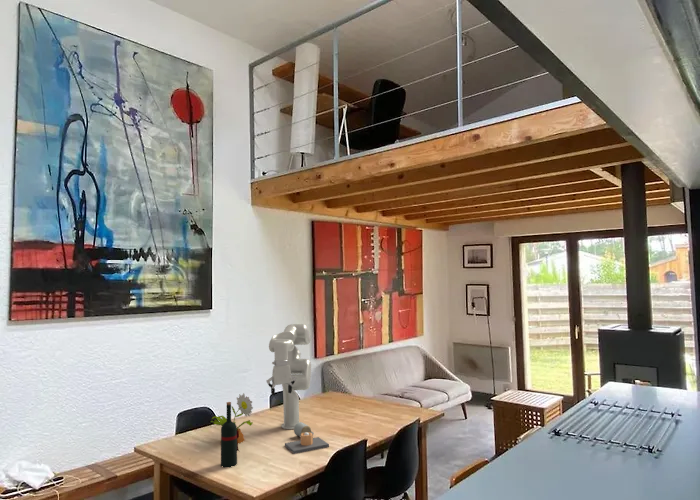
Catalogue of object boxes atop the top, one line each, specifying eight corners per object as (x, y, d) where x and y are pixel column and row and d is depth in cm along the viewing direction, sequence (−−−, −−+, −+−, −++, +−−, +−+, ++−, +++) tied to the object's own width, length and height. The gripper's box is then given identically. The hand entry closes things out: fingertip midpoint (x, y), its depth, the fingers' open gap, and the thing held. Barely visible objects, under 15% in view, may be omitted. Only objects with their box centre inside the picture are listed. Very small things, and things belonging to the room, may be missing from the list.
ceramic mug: (301, 440, 271) (301, 426, 271) (293, 436, 277) (293, 423, 277) (316, 436, 277) (316, 422, 278) (308, 433, 284) (308, 419, 284)
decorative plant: (262, 439, 274) (261, 394, 276) (230, 451, 254) (230, 403, 256) (229, 431, 289) (229, 389, 290) (196, 443, 269) (196, 398, 270)
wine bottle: (244, 462, 239) (243, 400, 241) (228, 468, 230) (228, 405, 232) (233, 459, 243) (232, 398, 245) (217, 465, 235) (217, 403, 237)
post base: (284, 446, 261) (284, 432, 262) (318, 439, 271) (318, 426, 271) (294, 453, 249) (293, 439, 249) (329, 447, 258) (328, 432, 259)
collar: (299, 443, 261) (299, 433, 261) (309, 441, 264) (309, 431, 264) (303, 446, 256) (303, 436, 256) (314, 444, 259) (313, 434, 259)
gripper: (268, 365, 264) (268, 397, 262) (298, 362, 272) (298, 393, 270) (264, 363, 270) (264, 394, 269) (293, 360, 278) (293, 390, 277)
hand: (281, 394), depth 270 cm, fingers open, 9 cm apart
